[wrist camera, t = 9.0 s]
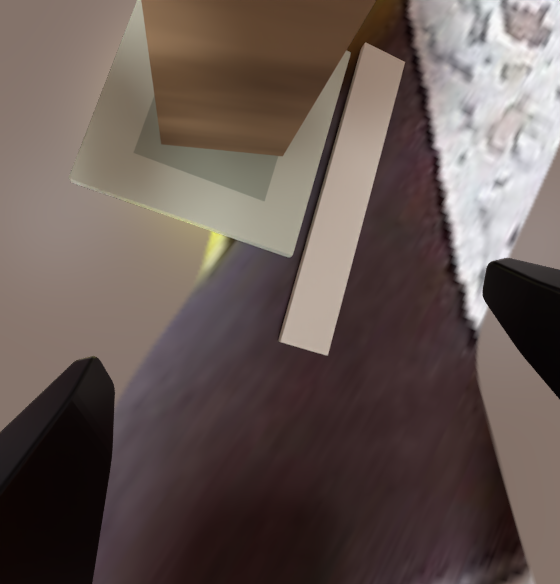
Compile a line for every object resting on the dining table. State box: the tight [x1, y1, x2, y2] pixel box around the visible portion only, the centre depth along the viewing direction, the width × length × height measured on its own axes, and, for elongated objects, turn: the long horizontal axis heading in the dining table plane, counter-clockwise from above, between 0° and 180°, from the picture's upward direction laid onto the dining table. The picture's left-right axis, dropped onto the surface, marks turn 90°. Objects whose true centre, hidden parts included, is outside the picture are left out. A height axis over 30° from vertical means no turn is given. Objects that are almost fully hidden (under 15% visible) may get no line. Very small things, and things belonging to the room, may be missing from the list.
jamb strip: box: [278, 42, 405, 356], centre depth 19 cm, size 16×2×1 cm, turn 163°
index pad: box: [69, 0, 351, 258], centre depth 18 cm, size 11×10×1 cm
